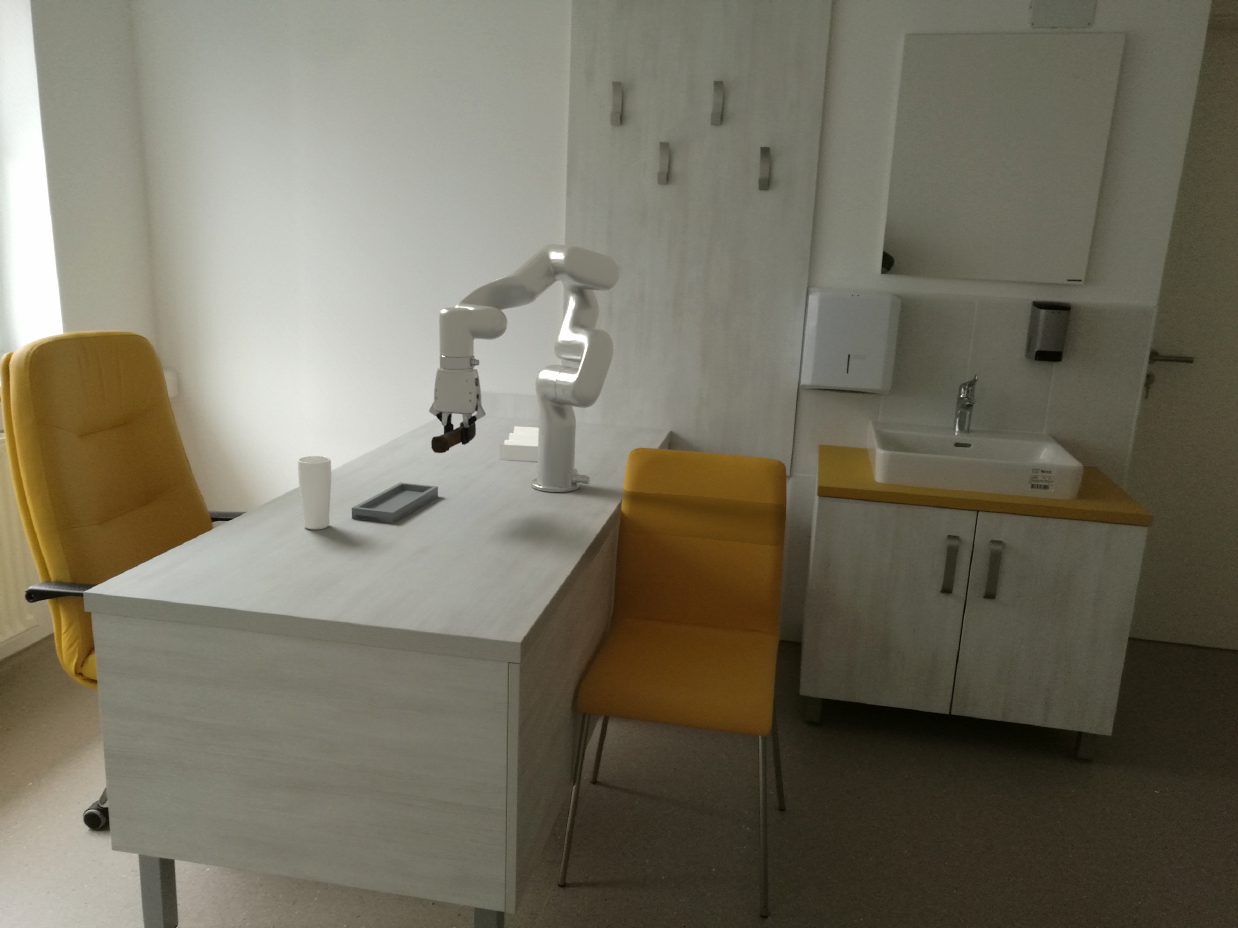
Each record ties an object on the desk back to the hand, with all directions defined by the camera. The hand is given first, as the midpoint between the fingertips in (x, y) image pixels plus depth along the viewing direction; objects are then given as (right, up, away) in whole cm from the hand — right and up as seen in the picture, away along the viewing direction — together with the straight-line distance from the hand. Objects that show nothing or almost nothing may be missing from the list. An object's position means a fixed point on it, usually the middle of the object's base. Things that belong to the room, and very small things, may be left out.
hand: (457, 442), depth 215 cm
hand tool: (-1, -1, 0) cm, 1 cm away
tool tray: (-15, -15, +5) cm, 22 cm away
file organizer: (+10, -1, +72) cm, 73 cm away
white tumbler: (-28, -19, -12) cm, 36 cm away
